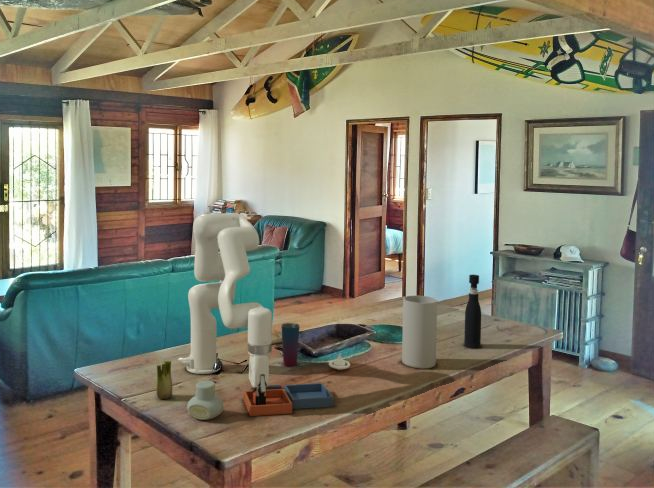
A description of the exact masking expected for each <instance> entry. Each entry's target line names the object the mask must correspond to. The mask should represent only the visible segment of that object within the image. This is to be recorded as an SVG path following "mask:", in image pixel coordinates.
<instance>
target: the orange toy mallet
mask: <svg viewBox="0 0 654 488" xmlns="http://www.w3.org/2000/svg"><path fill="white" fill-rule="evenodd" d="M256 396H257V394H256V391H255V392H254V393H253V406H254V405H255V402H256ZM270 404H282V401H281V400H280V401H266V405H270Z"/></svg>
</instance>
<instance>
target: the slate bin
mask: <svg viewBox="0 0 654 488" xmlns="http://www.w3.org/2000/svg"><path fill="white" fill-rule="evenodd" d="M283 389H284V390H285V392H286V394H287V395H288V397H289V399H290V401H291V402H292V410H300V409H312V408H314V409H315V408H329V407H334V396H333V395H332V393H331V392H330V391H329V389H328V388H327V387H326V385H325V384H324V383H323V382H315V383H297V384H284V385H283Z"/></svg>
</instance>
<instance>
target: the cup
mask: <svg viewBox="0 0 654 488" xmlns="http://www.w3.org/2000/svg"><path fill="white" fill-rule="evenodd" d="M281 333H282V362H283V366H286V367H295V366H297V363H298V350H299V336H300V324H299V323H296V322H284V323H281Z"/></svg>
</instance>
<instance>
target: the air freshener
mask: <svg viewBox="0 0 654 488" xmlns="http://www.w3.org/2000/svg"><path fill="white" fill-rule="evenodd" d="M186 405H187V406H186V408H187V412H188V413H189V415H190V416H191V417H193V418H195V419H198V421H208V420H212V419H214V418H217V417H218V416H220V414H221V413H222V412H223V410H224V402H223V399H221V398H220V397H219V396H217V395H216V382H213V381H211V380H200V381H197V382H196V383H195V395H194V396H193V397H192V398H190V399H189V401H188V402H187V404H186Z"/></svg>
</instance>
